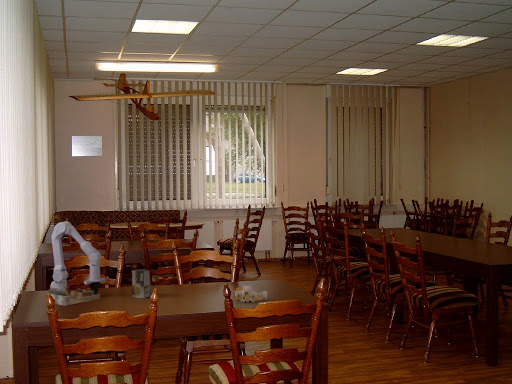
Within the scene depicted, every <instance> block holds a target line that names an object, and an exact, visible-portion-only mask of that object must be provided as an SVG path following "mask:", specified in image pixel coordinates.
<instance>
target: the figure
mask: <svg viewBox="0 0 512 384" xmlns="http://www.w3.org/2000/svg"><path fill="white" fill-rule="evenodd" d="M235 289H236V290H233V292H234V293H235V294H234V295H235V300H236V299H239V301H240V300H241V301H243V302H242V303H246V302H245V301H252V300H253V301H255V302H256V301H262V300H263V299H265V300H266V299H268V291H267V290H265V291H262V292H256V290H255V291H254V289H253V286H251V285H243V286H242V287H236V288H235ZM241 301H240V302H241Z"/></svg>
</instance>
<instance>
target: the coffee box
mask: <svg viewBox="0 0 512 384" xmlns="http://www.w3.org/2000/svg"><path fill="white" fill-rule="evenodd" d="M131 272H132V273H131V275H132V277H131V278H132V280H131V282H132V284H131V287H132V289H131V290H132V293H131V294H132V295H131V296H132V298H134V297H135V298H137V299H143V298H144V299H147V298H146V297H149V296H150V297H151V269H141V268H138V269H134V270H131ZM150 297H149V298H150ZM135 298H134V299H135Z"/></svg>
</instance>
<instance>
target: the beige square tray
mask: <svg viewBox="0 0 512 384" xmlns="http://www.w3.org/2000/svg"><path fill="white" fill-rule="evenodd" d="M70 294H71V299H76V298H82V297H87V296H93V295H94V291H92V290H91V289H90V290H89V289H88V290H87V289H78V290H72V291H70Z"/></svg>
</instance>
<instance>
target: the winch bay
mask: <svg viewBox="0 0 512 384" xmlns="http://www.w3.org/2000/svg"><path fill="white" fill-rule="evenodd" d="M69 290H70V286H68V285H67V286H65V290H64V289H57V288H49V289H48V292H47V293H46V295H47V294H50V295H51V296H52V297H53V299H54V300H55V305H59V306H64V307H66V306H70V305H75V304H80V303H87V302H92V301H98V300H101V294H98V293H97V295H93V296H87V297H82V298H76V299H71V293H69V292H68V291H69Z"/></svg>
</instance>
